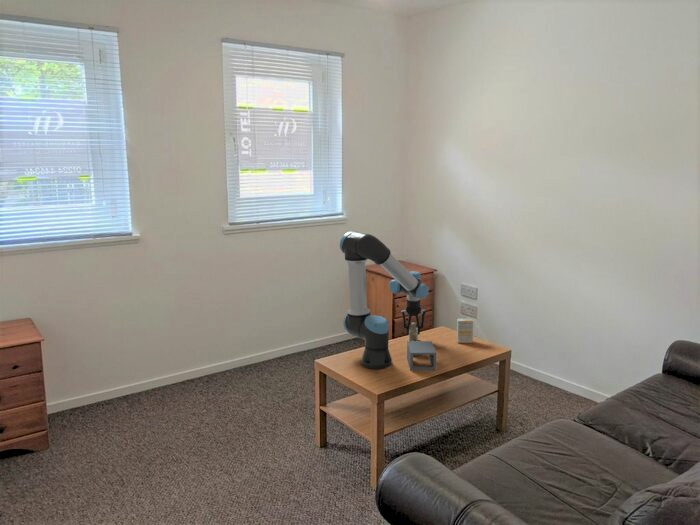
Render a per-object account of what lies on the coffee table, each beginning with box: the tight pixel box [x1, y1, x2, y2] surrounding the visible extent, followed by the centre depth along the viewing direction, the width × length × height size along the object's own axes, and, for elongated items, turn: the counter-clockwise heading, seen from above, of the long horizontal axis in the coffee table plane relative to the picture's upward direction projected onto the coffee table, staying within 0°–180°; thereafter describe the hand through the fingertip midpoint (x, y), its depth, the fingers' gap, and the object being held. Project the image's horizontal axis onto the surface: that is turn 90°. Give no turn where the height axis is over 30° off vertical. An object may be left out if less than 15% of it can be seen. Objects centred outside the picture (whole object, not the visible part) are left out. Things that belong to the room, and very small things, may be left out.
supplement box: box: [456, 317, 474, 345], centre depth 302 cm, size 8×5×13 cm, turn 84°
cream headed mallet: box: [409, 322, 424, 357], centre depth 295 cm, size 6×25×10 cm, turn 179°
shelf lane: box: [406, 340, 437, 372], centre depth 272 cm, size 12×16×9 cm
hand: (413, 339), depth 307 cm, fingers closed on cream headed mallet, 3 cm apart
